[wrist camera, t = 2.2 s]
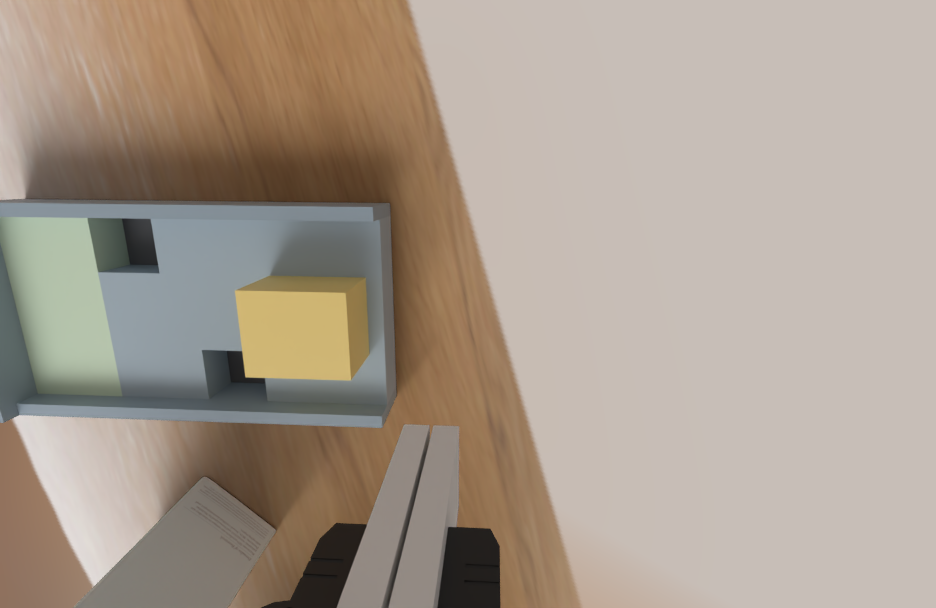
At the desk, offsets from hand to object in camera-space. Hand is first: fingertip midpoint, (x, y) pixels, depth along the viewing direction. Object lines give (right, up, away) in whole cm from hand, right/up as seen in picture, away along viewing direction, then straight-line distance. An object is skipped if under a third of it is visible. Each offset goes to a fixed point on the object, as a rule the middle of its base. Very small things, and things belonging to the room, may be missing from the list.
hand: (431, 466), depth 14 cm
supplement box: (-19, -13, +24) cm, 33 cm away
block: (-8, +4, +15) cm, 18 cm away
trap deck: (-16, +5, +19) cm, 25 cm away
